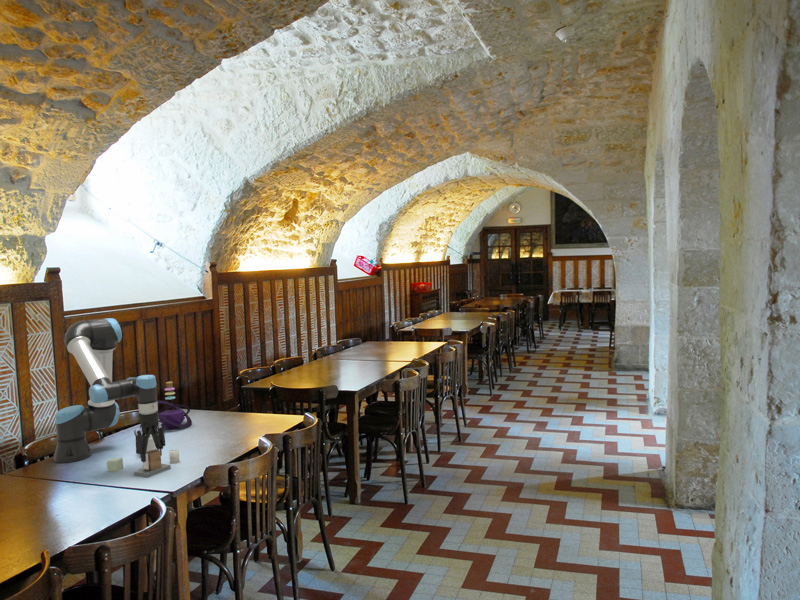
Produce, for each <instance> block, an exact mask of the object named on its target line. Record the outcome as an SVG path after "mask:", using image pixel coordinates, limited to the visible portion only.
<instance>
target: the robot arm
mask: <svg viewBox="0 0 800 600" xmlns="http://www.w3.org/2000/svg"><path fill="white" fill-rule="evenodd" d="M122 333H123V332H122V328H121V325H120V324H119V321H118V320H117V319H115V318H113V317H112V318H111V317H109V318H107V317H106V318H105V317H103V318H96V319H88V320H87V319H86V320H85V319H83V320H78V321H76V322H75V323H72V324H71V325H70V326H69V327H68V328H67V330H66V332H65V334H64V345H65V348H66V349H67V352H68V353H70V354H71V355H73V356H74V359H75V361H76V362H77V364H78V366H79V367H80V369H81V371H82V373H83V375H84V376H85V379H86V380H87V382H88V383H89V385H90V387H89V389H88V396H89V400H88V401H87V406H84V405H82V404H76V405H71V406H66V407H64V408H61V409H59V410H58V411H57V412H56V413H55V420H54V421H55V422H54V423H55V429H56V443H57V445H56V447H55V451H54V456H53V457H54V458H53V460H54V463H59V464H65V463H66V464H67V463H73V462H79V461H82V460H85V459H88V458H90V457H91V456H92V449H91V447H90V445H89V443H88V441H87V439H86V437H87V436H86V433H89V432H95V431H99V430H104V429H108V428H111V427H114V426H115V425H116V424H118V422H119V420H120V419H119V418H120V414H121V413H120V406H119V404H118V403H117V402H116V400H117V401H118V400H122V399H127V398H132V397H136V398H137V408H138V409H137V410H138V413H139V414H138V421H139V423H140V425H139V426H140V427H139V428H138V429H134V431H133V433H134V436H135V454H138V455H140V461H141V462H142V469H147V470H148V469H149V462H148V454H146V451H147V445H148V439H149V437H150V435H152V437H153V440H154V443H155V446H156V449H154V450H157V451H160V453H161V457H162V454H163V451H162V450H163V449H164V447H165V446H166V437H165V427H164V423H161V422H158V420H159V416H158V412H157V411H159V409H158V406H159V404H157V400H158V391H157V390H158V389H157V386H158V385H157V380H156V376H155V375H154V374H143V375H139V376H136V377H135V376H134V377H128V378H126V379H122V380H116V381H113V355H114V354H113V351H114V350H116V348H117V343H120V342H121V341H122V340H123V339H122V338H123V334H122Z"/></svg>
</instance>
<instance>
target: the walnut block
mask: <svg viewBox="0 0 800 600" xmlns="http://www.w3.org/2000/svg"><path fill="white" fill-rule="evenodd" d="M146 454H148V462H149V469H148V471H153V470H156V469H158V468H161V464H162V456H161V453H160V451H157V450H150V451H147V452H146ZM144 470H147V469H144Z"/></svg>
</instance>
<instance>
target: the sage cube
mask: <svg viewBox="0 0 800 600" xmlns="http://www.w3.org/2000/svg"><path fill="white" fill-rule="evenodd" d="M106 469H107V470H106V471H107V472H109V473H110V472H119V471H121V470H122V469H124V460H123V457H112V458H110V459H108V460H106Z"/></svg>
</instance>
